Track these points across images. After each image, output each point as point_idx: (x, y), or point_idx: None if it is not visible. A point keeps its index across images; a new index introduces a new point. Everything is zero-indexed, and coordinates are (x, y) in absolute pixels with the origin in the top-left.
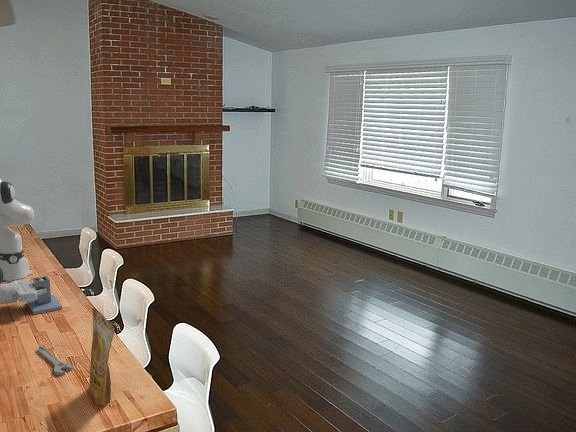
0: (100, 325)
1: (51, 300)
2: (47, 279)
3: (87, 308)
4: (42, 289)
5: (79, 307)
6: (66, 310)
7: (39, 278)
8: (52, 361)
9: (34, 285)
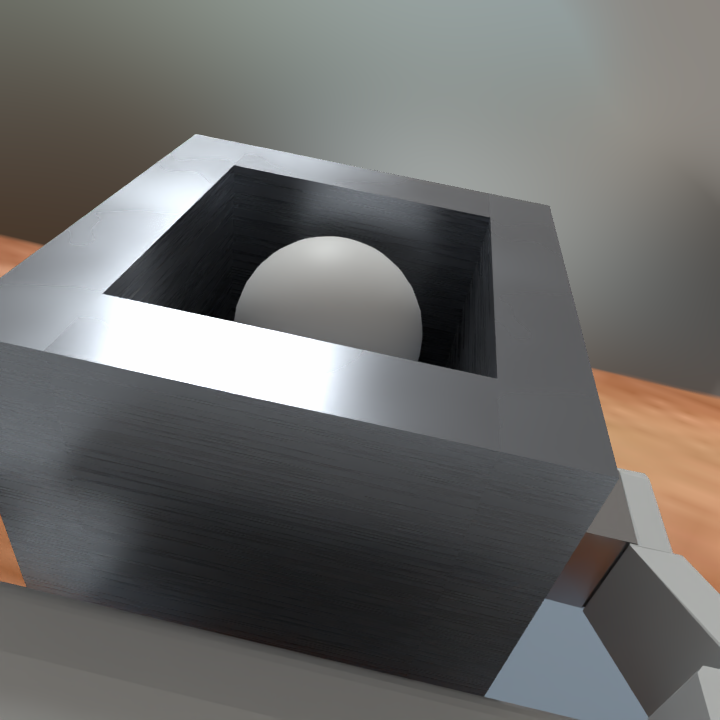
0: None
1: None
2: (479, 206)
3: (695, 412)
4: (660, 539)
5: (641, 439)
6: (690, 559)
7: (170, 239)
8: None
9: (245, 565)
